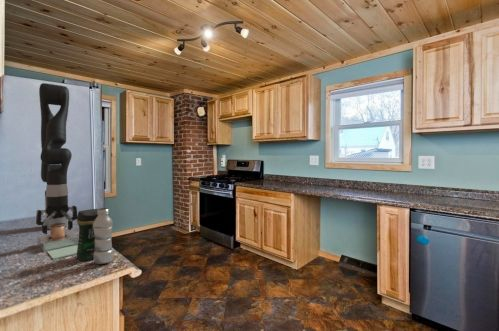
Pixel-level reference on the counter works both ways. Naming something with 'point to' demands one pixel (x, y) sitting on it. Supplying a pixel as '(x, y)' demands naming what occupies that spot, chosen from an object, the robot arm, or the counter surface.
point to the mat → (63, 252)
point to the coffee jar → (86, 234)
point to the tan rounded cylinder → (57, 230)
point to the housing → (57, 242)
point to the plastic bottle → (103, 237)
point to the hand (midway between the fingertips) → (57, 231)
